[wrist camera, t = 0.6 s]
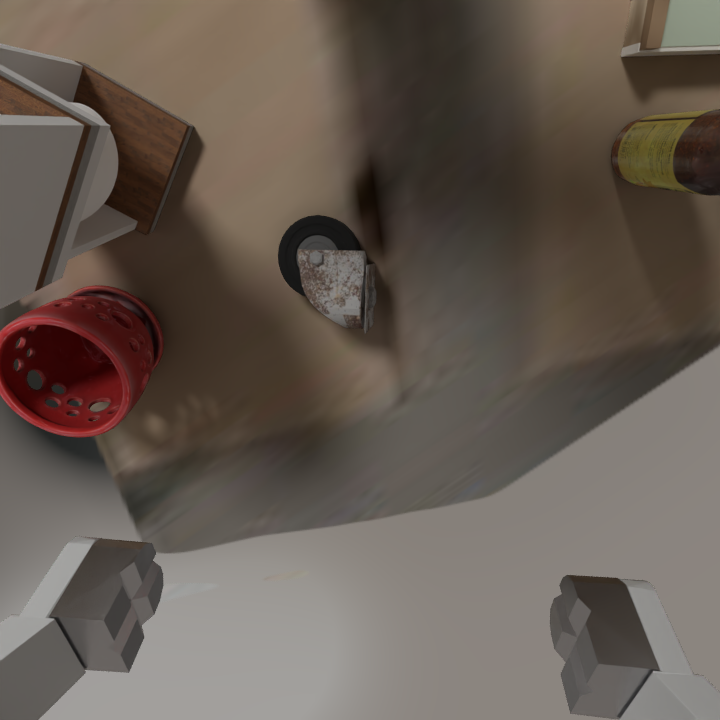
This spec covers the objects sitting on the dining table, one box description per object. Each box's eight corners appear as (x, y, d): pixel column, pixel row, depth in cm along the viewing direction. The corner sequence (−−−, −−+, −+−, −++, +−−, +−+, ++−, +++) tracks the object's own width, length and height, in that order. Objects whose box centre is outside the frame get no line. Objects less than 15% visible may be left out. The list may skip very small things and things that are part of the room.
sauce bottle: (621, 195, 51) (765, 233, 33) (598, 139, 49) (739, 146, 31) (684, 158, 49) (872, 176, 31) (664, 98, 47) (853, 80, 29)
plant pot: (42, 279, 54) (-37, 317, 43) (162, 276, 54) (113, 314, 43) (73, 385, 60) (10, 442, 49) (182, 383, 60) (143, 440, 49)
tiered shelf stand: (153, 231, 52) (-165, 392, 20) (51, 178, 50) (-482, 267, 18) (193, 126, 48) (-127, 124, 16) (84, 63, 46) (-534, -82, 14)
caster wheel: (290, 217, 54) (381, 219, 53) (290, 320, 57) (378, 324, 55) (270, 213, 48) (374, 214, 46) (271, 329, 50) (370, 334, 49)
